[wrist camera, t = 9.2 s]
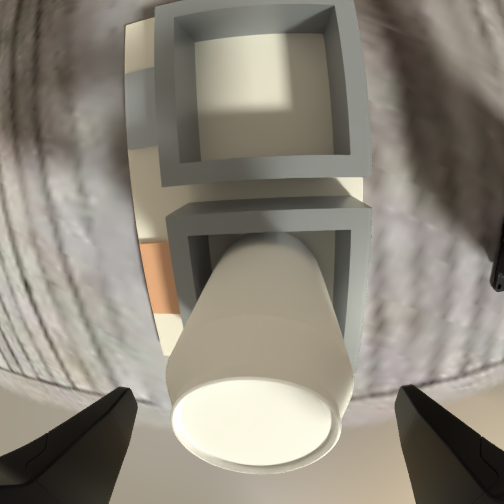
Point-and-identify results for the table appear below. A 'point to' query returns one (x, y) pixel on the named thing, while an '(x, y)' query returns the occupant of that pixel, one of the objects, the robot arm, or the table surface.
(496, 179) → the table surface
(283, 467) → the beverage can
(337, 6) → the socket board
